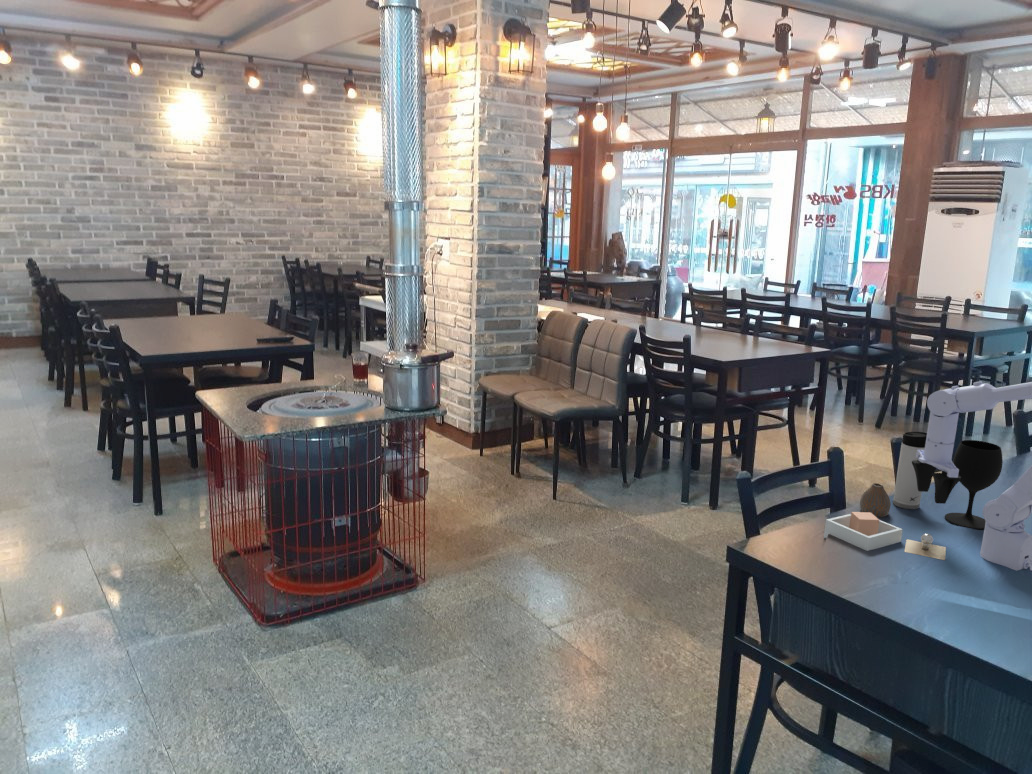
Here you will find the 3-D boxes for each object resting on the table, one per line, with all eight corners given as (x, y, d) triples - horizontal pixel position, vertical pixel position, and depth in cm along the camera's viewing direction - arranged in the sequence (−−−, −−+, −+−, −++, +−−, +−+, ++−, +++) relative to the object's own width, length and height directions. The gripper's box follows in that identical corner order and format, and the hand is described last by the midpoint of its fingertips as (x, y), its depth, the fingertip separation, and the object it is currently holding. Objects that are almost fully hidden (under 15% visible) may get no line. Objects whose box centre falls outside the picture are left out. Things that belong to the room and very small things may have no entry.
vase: (856, 519, 198) (861, 486, 196) (859, 510, 204) (864, 478, 202) (887, 525, 195) (892, 491, 193) (889, 516, 201) (893, 483, 199)
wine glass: (949, 510, 206) (961, 436, 201) (995, 521, 199) (1008, 445, 195) (939, 522, 198) (952, 445, 193) (987, 533, 192) (1001, 454, 187)
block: (867, 536, 186) (870, 512, 185) (875, 544, 181) (879, 519, 180) (848, 536, 186) (851, 511, 185) (856, 543, 181) (859, 519, 180)
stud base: (944, 553, 179) (948, 531, 178) (944, 566, 173) (947, 544, 171) (905, 545, 183) (908, 524, 182) (903, 557, 176) (906, 536, 175)
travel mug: (917, 511, 204) (929, 437, 200) (890, 505, 208) (901, 432, 204) (922, 505, 209) (934, 432, 205) (895, 499, 213) (906, 427, 208)
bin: (900, 547, 182) (902, 529, 181) (866, 557, 176) (869, 538, 175) (856, 529, 192) (859, 511, 191) (823, 537, 186) (826, 519, 185)
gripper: (907, 431, 189) (899, 485, 192) (940, 449, 175) (930, 508, 178) (936, 432, 189) (927, 486, 192) (971, 450, 175) (961, 508, 178)
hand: (931, 496), depth 185 cm, fingers open, 7 cm apart
